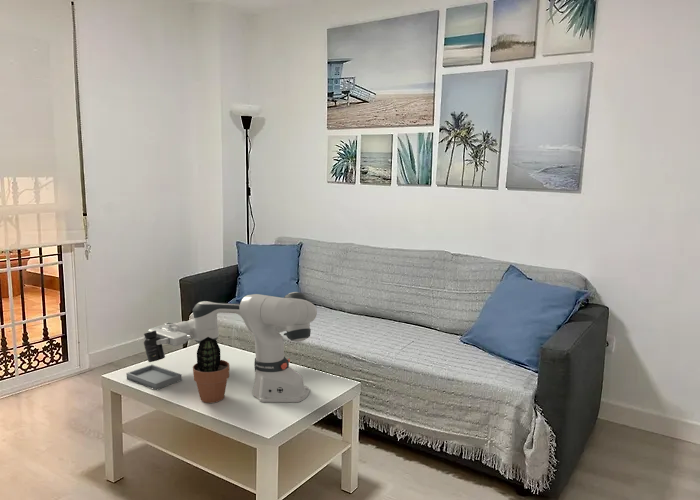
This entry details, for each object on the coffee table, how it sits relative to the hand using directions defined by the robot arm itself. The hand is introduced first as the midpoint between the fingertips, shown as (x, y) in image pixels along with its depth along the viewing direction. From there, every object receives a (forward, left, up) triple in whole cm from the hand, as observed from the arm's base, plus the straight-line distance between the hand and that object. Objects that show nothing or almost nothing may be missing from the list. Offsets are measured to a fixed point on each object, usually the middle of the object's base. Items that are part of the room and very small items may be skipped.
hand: (150, 340), depth 222 cm
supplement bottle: (-3, 0, -8) cm, 9 cm away
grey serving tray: (0, -1, -17) cm, 17 cm away
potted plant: (-32, +11, -17) cm, 38 cm away
